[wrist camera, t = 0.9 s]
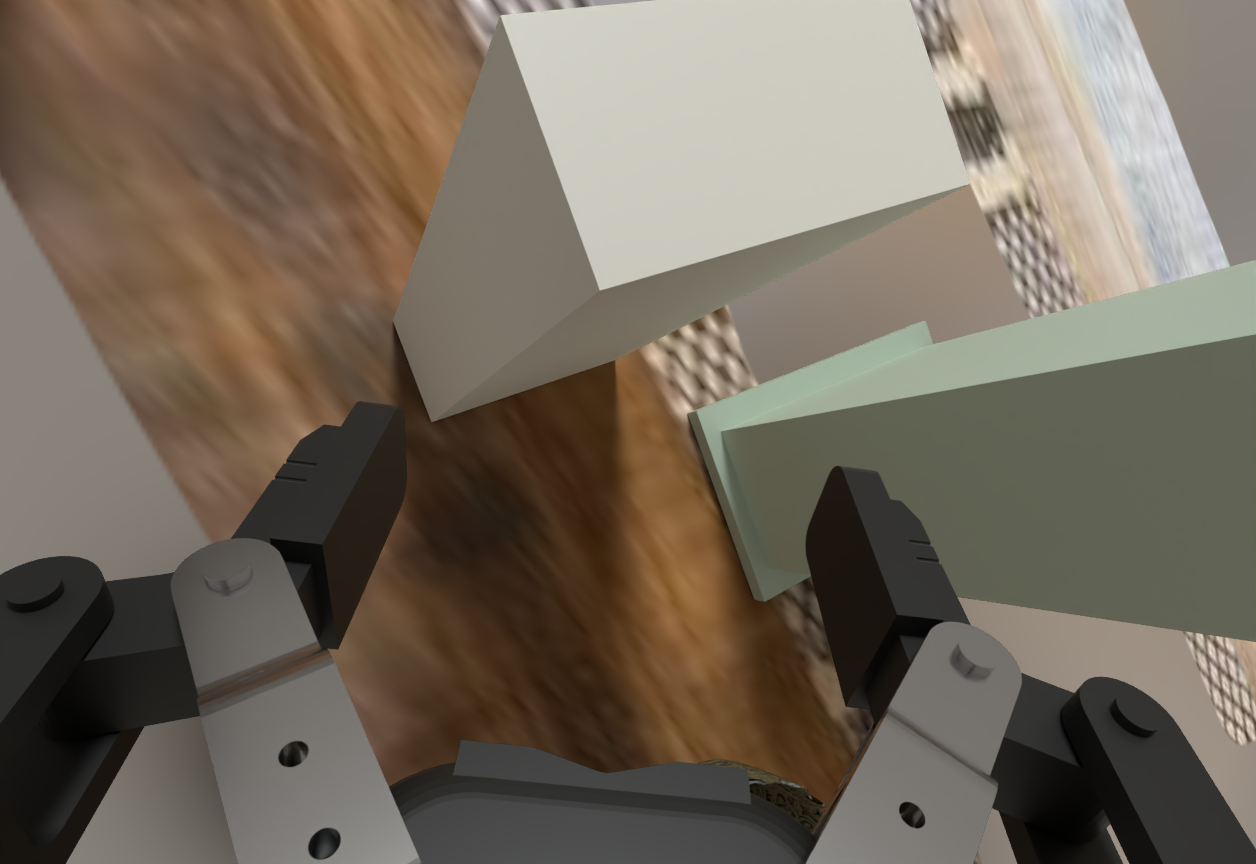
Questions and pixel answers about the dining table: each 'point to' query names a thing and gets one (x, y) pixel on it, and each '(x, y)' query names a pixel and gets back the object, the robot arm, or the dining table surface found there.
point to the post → (660, 177)
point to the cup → (780, 793)
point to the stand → (1029, 455)
